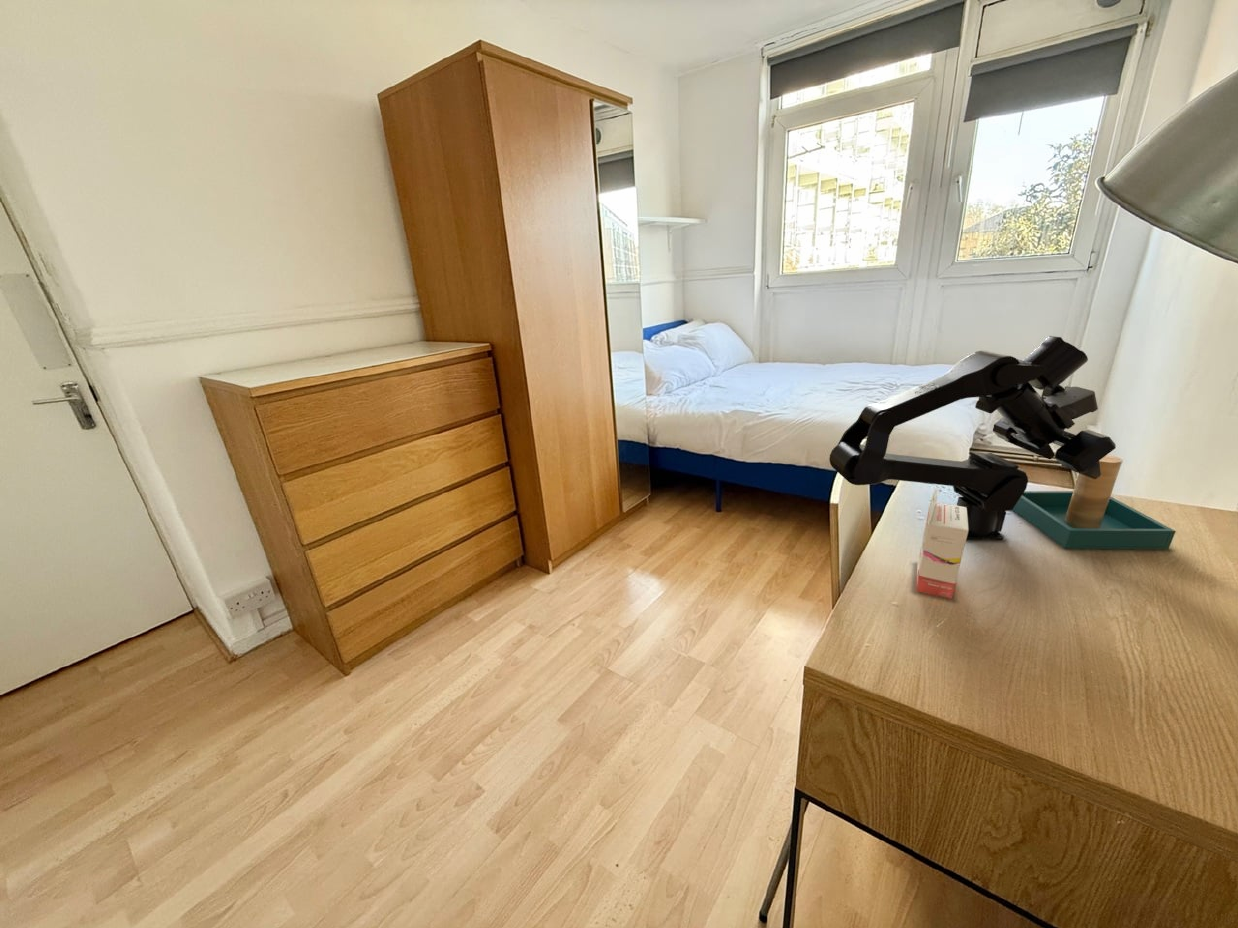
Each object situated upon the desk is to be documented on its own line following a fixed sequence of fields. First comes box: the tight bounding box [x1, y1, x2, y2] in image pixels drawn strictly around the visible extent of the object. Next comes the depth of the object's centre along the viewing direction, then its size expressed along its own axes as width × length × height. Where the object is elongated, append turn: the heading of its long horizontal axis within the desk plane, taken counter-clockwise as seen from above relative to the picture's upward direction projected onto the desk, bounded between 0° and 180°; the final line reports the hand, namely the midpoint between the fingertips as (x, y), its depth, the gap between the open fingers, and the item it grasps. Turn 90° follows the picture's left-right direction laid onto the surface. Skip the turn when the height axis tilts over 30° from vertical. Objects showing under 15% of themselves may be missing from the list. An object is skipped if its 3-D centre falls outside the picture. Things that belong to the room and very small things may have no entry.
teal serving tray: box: [1011, 490, 1177, 550], centre depth 89 cm, size 16×16×4 cm
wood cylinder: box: [1064, 453, 1123, 529], centre depth 87 cm, size 5×5×13 cm
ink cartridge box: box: [916, 485, 968, 600], centre depth 74 cm, size 9×5×15 cm, turn 149°
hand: (1073, 466), depth 85 cm, fingers open, 9 cm apart
